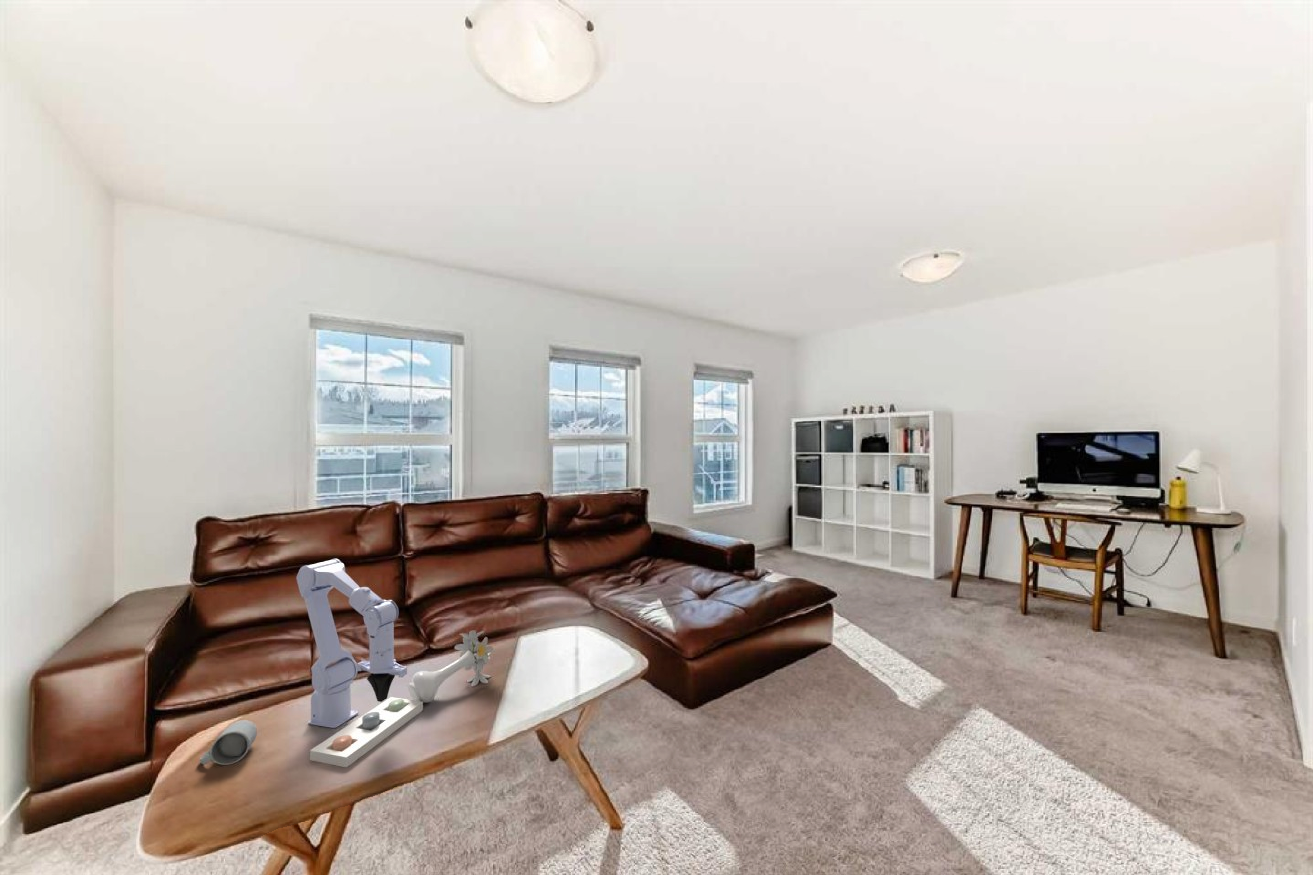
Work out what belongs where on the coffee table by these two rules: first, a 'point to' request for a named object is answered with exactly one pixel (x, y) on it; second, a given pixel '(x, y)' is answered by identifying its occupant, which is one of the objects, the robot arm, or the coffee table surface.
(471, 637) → the flower vase
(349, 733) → the panel
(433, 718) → the coffee table surface
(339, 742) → the terracotta button
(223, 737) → the ceramic mug
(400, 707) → the sage button
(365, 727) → the slate button
